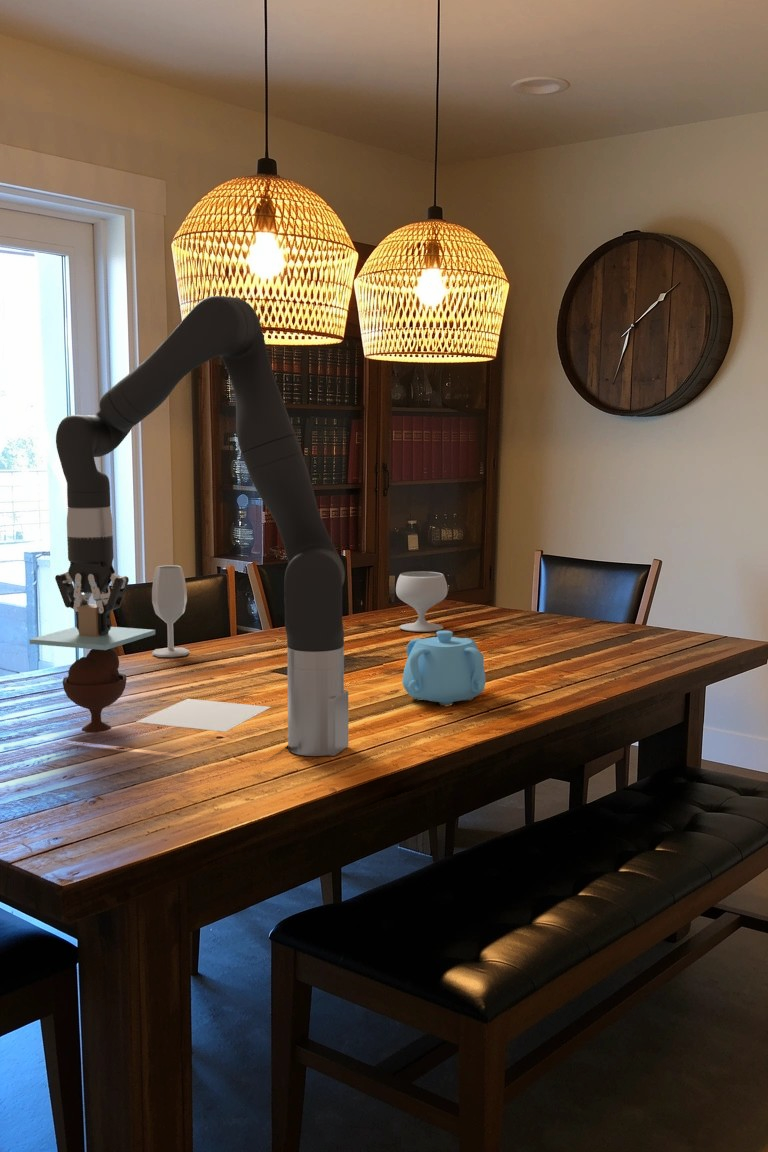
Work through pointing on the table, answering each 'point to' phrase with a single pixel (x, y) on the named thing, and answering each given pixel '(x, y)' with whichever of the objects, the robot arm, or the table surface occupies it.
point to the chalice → (421, 596)
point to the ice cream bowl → (95, 685)
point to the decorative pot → (444, 669)
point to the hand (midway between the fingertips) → (93, 632)
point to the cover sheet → (92, 641)
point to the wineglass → (169, 603)
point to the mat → (204, 715)
